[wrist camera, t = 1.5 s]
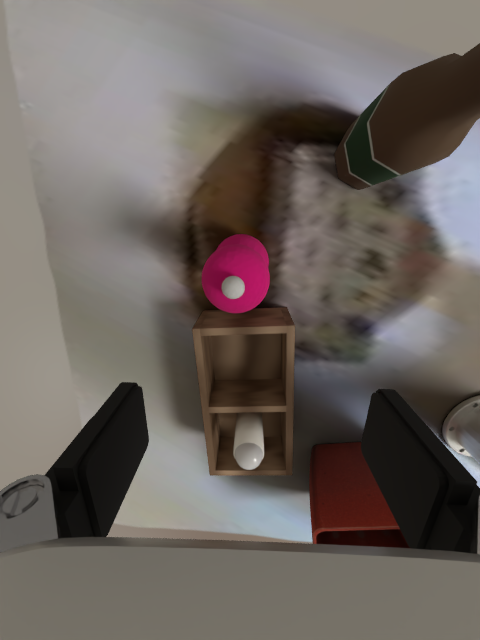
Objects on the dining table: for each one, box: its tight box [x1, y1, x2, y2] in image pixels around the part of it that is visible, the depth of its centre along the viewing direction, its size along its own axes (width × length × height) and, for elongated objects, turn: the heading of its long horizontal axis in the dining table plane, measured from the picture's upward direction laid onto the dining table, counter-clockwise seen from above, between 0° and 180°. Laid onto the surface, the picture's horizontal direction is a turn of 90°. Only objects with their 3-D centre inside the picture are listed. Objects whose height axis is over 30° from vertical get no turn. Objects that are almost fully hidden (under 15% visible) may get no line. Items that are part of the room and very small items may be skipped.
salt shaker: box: [233, 412, 264, 470], centre depth 40 cm, size 4×4×11 cm
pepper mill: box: [202, 234, 270, 313], centre depth 29 cm, size 7×7×20 cm
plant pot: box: [309, 442, 410, 548], centre depth 42 cm, size 19×19×17 cm
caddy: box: [192, 307, 295, 475], centre depth 41 cm, size 13×25×8 cm, turn 3°
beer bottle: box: [334, 44, 480, 190], centre depth 22 cm, size 8×8×24 cm
